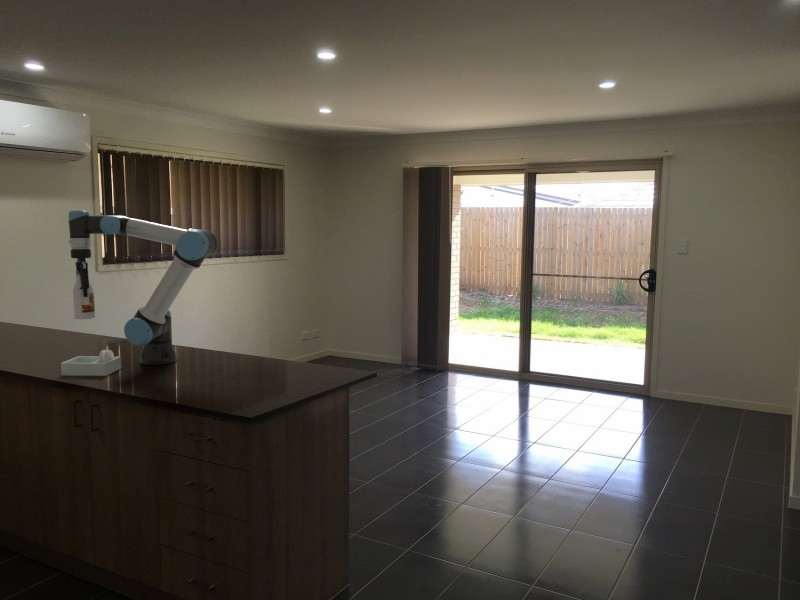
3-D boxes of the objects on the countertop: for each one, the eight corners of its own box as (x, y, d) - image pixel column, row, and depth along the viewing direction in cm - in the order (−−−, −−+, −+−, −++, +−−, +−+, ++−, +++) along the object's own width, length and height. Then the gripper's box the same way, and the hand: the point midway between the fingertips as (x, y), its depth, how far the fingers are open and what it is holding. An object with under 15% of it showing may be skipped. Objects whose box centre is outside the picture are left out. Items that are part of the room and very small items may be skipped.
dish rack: (79, 367, 272) (78, 346, 271) (121, 368, 271) (120, 347, 270) (61, 375, 260) (60, 353, 258) (105, 375, 259) (104, 353, 257)
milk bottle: (74, 320, 265) (71, 271, 263) (74, 317, 272) (71, 270, 269) (95, 319, 268) (92, 270, 266) (94, 316, 275) (92, 269, 273)
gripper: (66, 247, 273) (70, 301, 276) (74, 249, 256) (77, 307, 259) (86, 247, 277) (89, 300, 280) (95, 249, 260) (98, 305, 263)
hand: (83, 303), depth 269 cm, fingers closed on milk bottle, 7 cm apart
